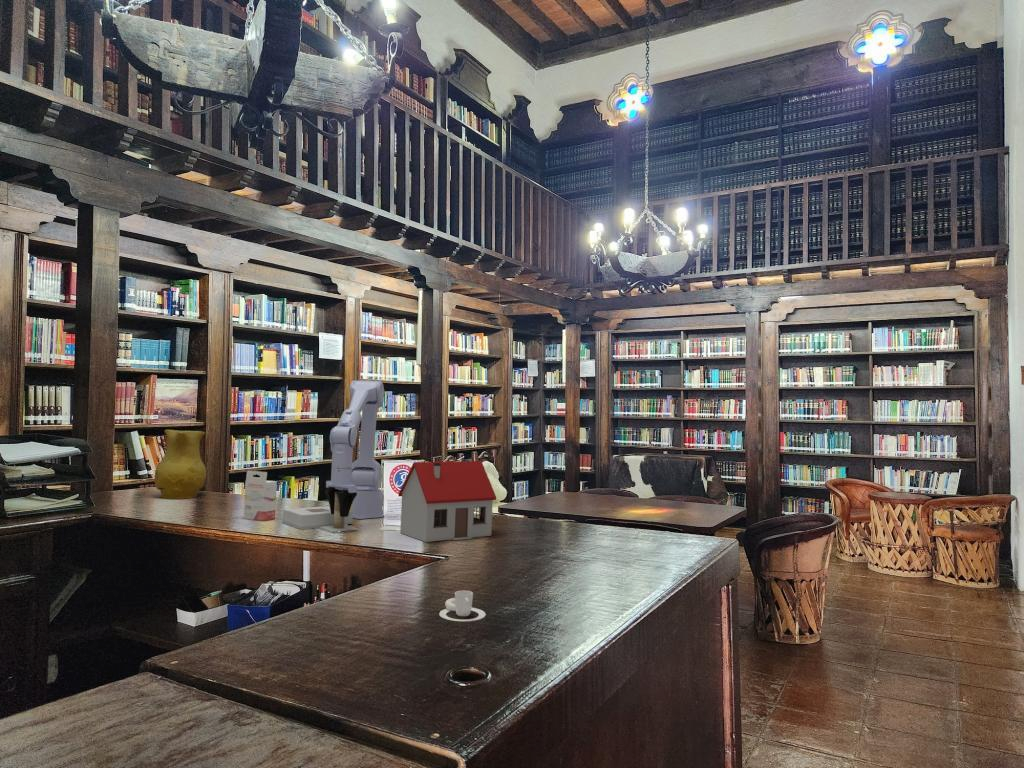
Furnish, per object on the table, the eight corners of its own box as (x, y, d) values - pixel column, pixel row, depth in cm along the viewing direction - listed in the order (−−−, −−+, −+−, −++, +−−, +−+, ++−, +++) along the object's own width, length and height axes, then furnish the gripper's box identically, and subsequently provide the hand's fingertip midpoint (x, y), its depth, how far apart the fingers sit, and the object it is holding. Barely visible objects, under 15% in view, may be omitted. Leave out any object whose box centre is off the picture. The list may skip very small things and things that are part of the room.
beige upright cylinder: (341, 526, 190) (343, 491, 191) (345, 527, 188) (347, 492, 189) (331, 527, 189) (333, 492, 189) (335, 528, 186) (337, 492, 187)
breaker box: (331, 518, 206) (332, 505, 206) (352, 524, 197) (352, 511, 197) (282, 522, 195) (283, 509, 196) (301, 529, 186) (302, 515, 186)
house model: (472, 527, 201) (475, 459, 202) (500, 539, 183) (503, 464, 184) (392, 530, 190) (396, 458, 191) (414, 544, 172) (418, 464, 173)
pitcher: (140, 497, 235) (149, 427, 237) (175, 494, 253) (183, 429, 256) (183, 501, 232) (192, 430, 234) (215, 498, 250) (223, 432, 253)
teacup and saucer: (443, 607, 118) (444, 584, 118) (487, 609, 117) (488, 586, 118) (436, 623, 109) (437, 598, 109) (483, 625, 109) (484, 600, 109)
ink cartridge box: (276, 519, 201) (278, 471, 202) (264, 521, 197) (267, 472, 198) (254, 516, 205) (257, 469, 205) (242, 518, 200) (245, 470, 201)
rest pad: (344, 526, 194) (344, 524, 194) (358, 530, 188) (358, 528, 188) (319, 528, 188) (319, 526, 188) (332, 532, 182) (332, 531, 183)
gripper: (317, 466, 192) (315, 512, 191) (341, 470, 181) (338, 520, 180) (339, 465, 196) (337, 511, 196) (363, 469, 186) (361, 518, 185)
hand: (339, 515), depth 188 cm, fingers open, 5 cm apart
